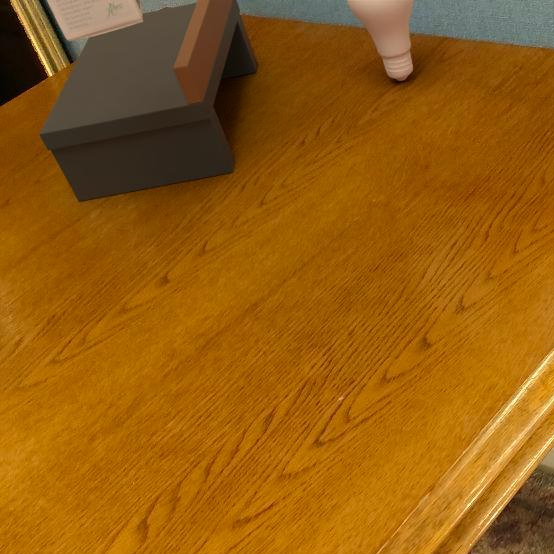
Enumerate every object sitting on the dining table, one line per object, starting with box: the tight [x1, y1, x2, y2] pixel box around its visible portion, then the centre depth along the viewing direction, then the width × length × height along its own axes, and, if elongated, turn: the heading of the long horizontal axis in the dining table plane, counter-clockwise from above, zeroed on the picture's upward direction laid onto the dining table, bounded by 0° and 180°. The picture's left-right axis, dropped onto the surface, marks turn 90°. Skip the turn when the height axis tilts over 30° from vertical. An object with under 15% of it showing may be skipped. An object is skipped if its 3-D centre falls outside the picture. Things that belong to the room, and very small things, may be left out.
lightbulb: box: [346, 0, 415, 82], centre depth 90 cm, size 6×6×11 cm
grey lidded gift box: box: [38, 0, 259, 202], centre depth 91 cm, size 14×23×10 cm, turn 5°
